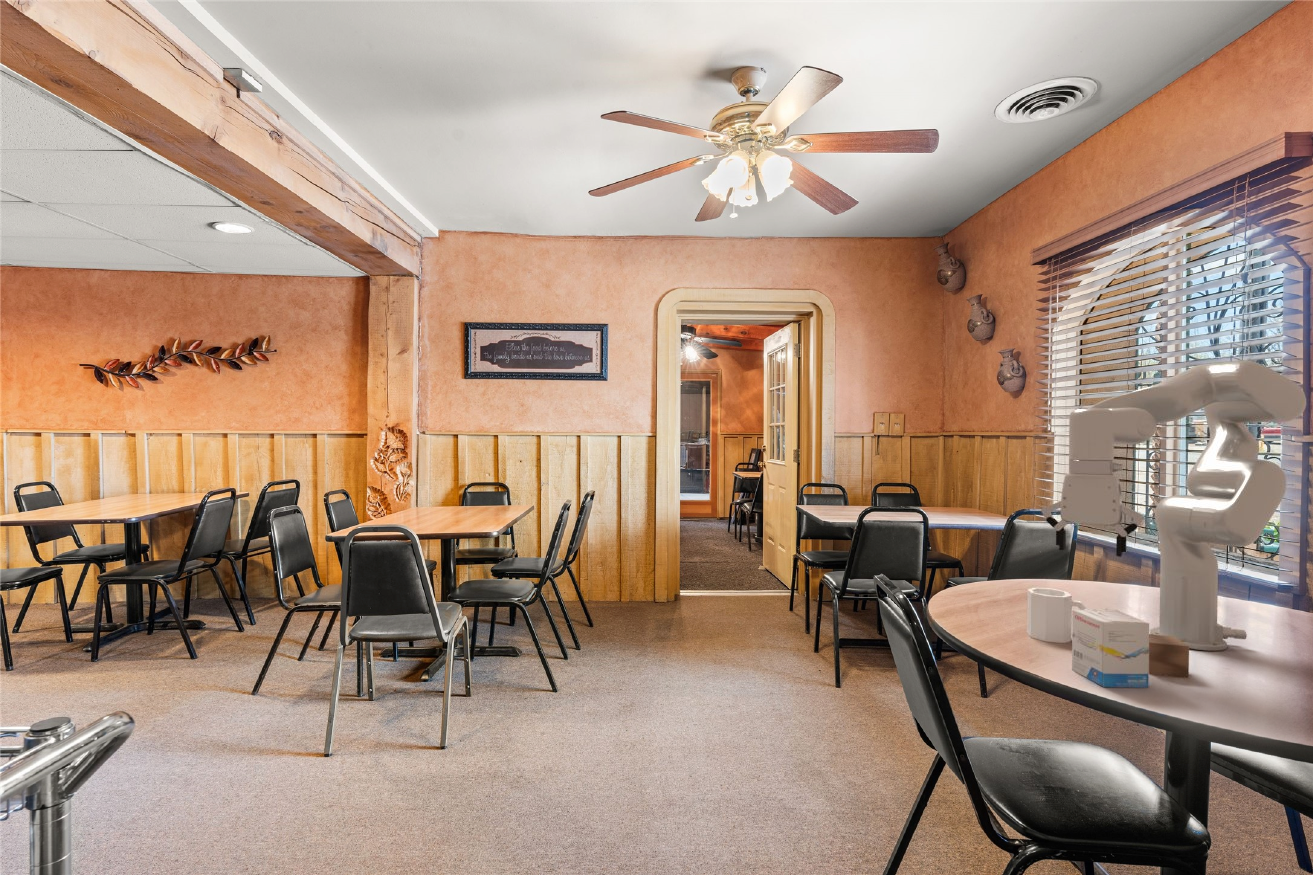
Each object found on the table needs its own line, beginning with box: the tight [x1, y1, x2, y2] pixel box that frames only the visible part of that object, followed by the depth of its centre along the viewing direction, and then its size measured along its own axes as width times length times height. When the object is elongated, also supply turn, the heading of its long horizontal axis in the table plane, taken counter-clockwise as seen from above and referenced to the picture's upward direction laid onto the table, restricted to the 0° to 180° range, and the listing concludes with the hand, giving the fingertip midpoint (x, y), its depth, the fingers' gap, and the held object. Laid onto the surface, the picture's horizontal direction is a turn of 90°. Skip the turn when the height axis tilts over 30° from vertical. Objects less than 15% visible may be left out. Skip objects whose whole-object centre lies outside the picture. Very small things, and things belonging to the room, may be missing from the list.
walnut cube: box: [1149, 633, 1190, 679], centre depth 118 cm, size 6×6×6 cm
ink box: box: [1071, 608, 1150, 689], centre depth 114 cm, size 9×8×12 cm
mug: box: [1026, 587, 1088, 644], centre depth 137 cm, size 12×9×10 cm
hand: (1090, 552), depth 128 cm, fingers open, 9 cm apart
